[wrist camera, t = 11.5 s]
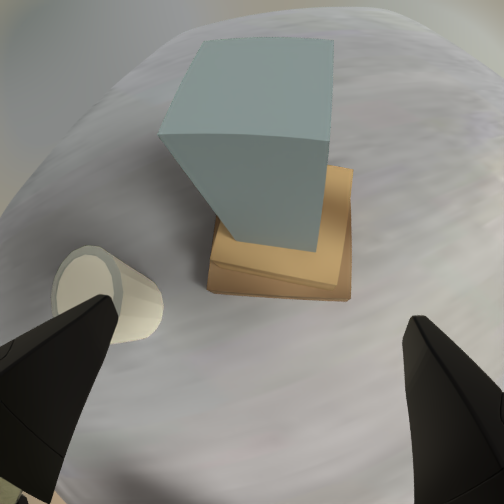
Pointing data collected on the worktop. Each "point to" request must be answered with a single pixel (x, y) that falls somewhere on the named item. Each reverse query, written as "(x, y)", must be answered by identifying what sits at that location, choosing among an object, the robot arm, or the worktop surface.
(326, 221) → the tower top
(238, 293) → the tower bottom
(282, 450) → the worktop surface
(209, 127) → the tall block
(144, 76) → the worktop surface
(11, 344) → the robot arm
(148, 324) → the shot glass
